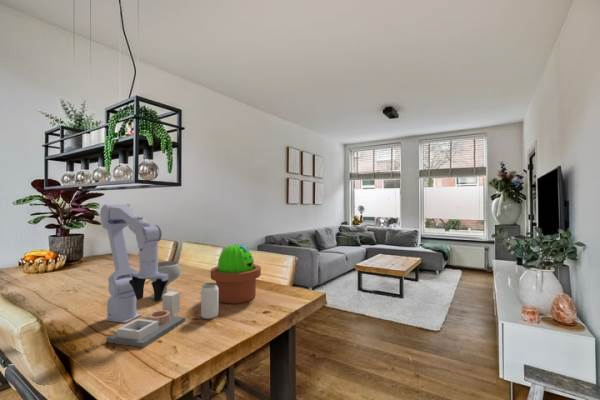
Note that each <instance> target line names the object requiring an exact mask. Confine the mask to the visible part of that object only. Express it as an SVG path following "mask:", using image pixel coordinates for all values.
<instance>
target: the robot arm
mask: <svg viewBox="0 0 600 400" xmlns="http://www.w3.org/2000/svg"><path fill="white" fill-rule="evenodd" d="M99 215H100V216H99V217H100V222H101V225H102V228H103V229H105V230H107V234H108V239H109V240H108V241H109V244H110V249H111V254H112V255H111V256H112V258H113V259H112V260H113V265H114V271H113V273H111V275H109V276H108V286H107V287H108V293H109V295H110V296H109V298H108V299H107V303H106V307H107V308H106V314H107V315H106V318H104V319H105V321H108V322H115V323H122V324H126V323H129V322H130V321H133V320H134V319H136V318H139V317H140V316H142V314H143V313H142V312H141V313H139V312H137V301H139V300H141V299H143V298H144V291H145V290H144V289H145V283H146V280H150V279H153V280H156V281H154V282H153V281H150V284H151V285H152V289H153V294H154V299H153V300H154V302H155V303H157V302H159V301H162V299H161V297H162V293H163V290H164V288H165V286H166V284H167V282H168V274H164V273H160V272H158V262H159V242H160V241H161V239H162V229H161V227H160V226H159V225H158V224H157V225H156V224H155V225H152V224H151V223H149V222H148V221H147V220H146V219H144V217H143V216H141V215H139V216H137V215H136V214H135V213H134V208H133V206H132V205H131V204H127V203H126V204H103V205H102V206H101V208H100V213H99ZM127 227H128V228H129V230H130V231H131V232H132V233H133V234H134V235H135V239H136V242H137V248H138V252H139V255H138V256H139V258H138V259H139V260H138V261H139V262H138V263H139V264H138V265H139V266H138V267H139V271H138V270H137V269H134V268H133V267H131V265H130V259H129V255H128V250H127V246H126V241H125V236H124V231H123V230H124V229H125V228H127Z"/></svg>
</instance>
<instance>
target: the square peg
mask: <svg viewBox="0 0 600 400" xmlns="http://www.w3.org/2000/svg"><path fill="white" fill-rule="evenodd" d="M180 294H181V293H180V292H178V291H177V292H168V293H166V294H164V295H163V299H162V310H167V311H170V316H176V315H177V314H179V313H180V312H181V311H180V310H181V309H180V305H181V304H180V303H181V300H180V297H181V296H180Z"/></svg>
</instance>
